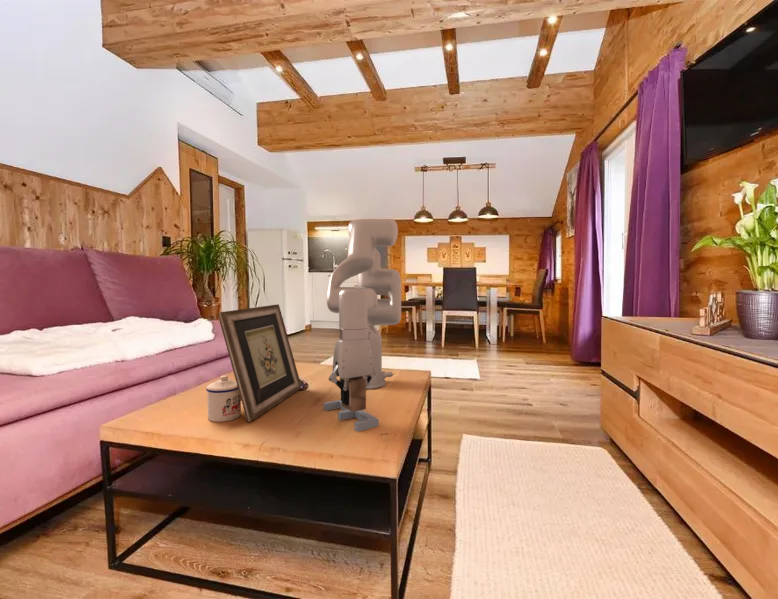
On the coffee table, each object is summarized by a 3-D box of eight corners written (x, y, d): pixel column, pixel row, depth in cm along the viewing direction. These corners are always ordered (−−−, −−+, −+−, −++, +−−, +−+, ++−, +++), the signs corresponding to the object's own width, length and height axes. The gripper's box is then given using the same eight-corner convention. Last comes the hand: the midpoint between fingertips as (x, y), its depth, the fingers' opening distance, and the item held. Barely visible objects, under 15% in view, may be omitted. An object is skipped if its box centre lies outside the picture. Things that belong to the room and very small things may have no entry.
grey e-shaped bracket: (342, 405, 120) (342, 399, 120) (378, 426, 103) (378, 418, 103) (323, 409, 116) (323, 402, 116) (357, 431, 100) (357, 424, 99)
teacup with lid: (225, 424, 104) (224, 381, 104) (199, 420, 107) (198, 378, 107) (255, 410, 116) (254, 371, 115) (230, 406, 119) (230, 369, 118)
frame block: (354, 403, 108) (354, 374, 108) (365, 409, 103) (365, 379, 103) (341, 405, 106) (341, 376, 106) (352, 412, 101) (352, 381, 101)
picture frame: (251, 423, 105) (249, 312, 104) (218, 420, 107) (216, 311, 106) (301, 389, 137) (300, 304, 136) (275, 387, 139) (274, 304, 138)
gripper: (372, 331, 112) (372, 394, 113) (318, 335, 102) (318, 404, 103) (387, 334, 105) (387, 400, 106) (330, 339, 96) (331, 412, 97)
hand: (353, 401), depth 105 cm, fingers closed on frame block, 4 cm apart
